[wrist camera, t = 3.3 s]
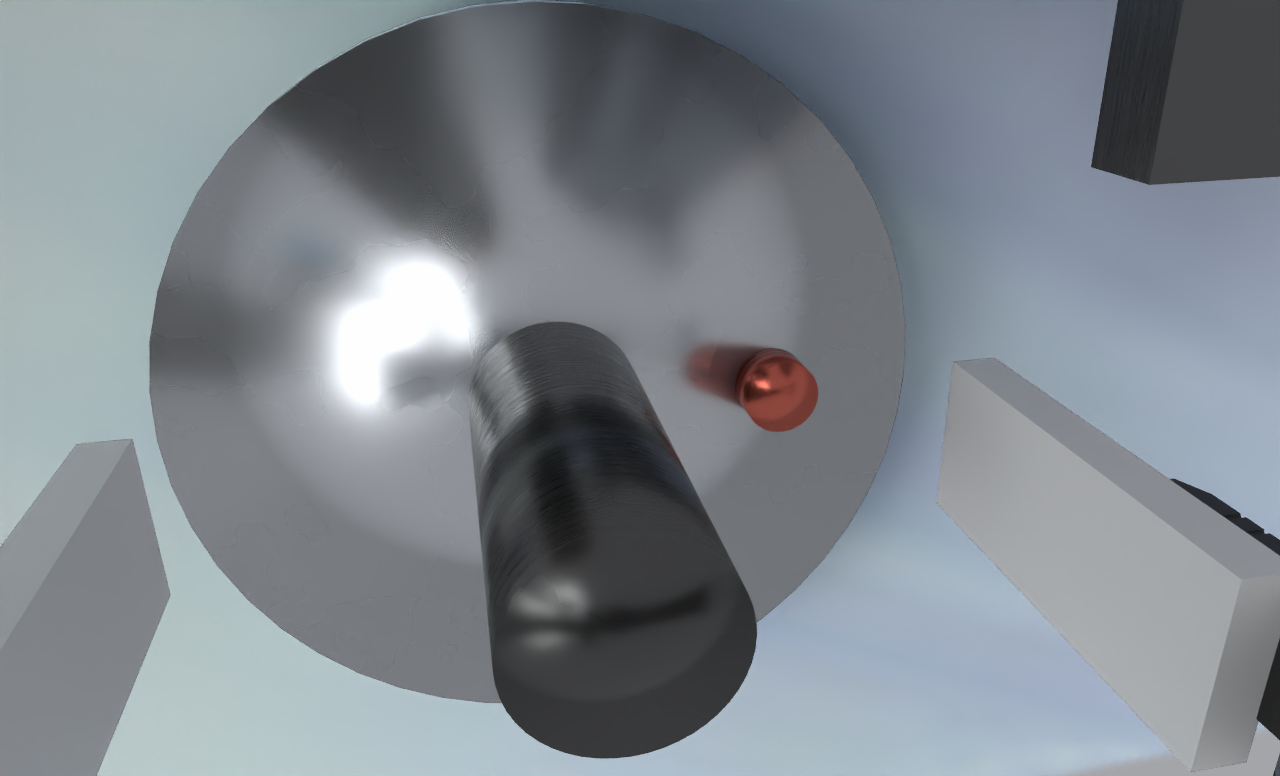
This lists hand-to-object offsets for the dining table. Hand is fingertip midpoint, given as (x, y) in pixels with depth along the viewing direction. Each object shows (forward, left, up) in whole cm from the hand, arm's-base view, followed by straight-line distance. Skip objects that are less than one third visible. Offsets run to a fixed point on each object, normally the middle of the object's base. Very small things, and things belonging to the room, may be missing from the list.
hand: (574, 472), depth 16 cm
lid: (0, 0, -5) cm, 5 cm away
